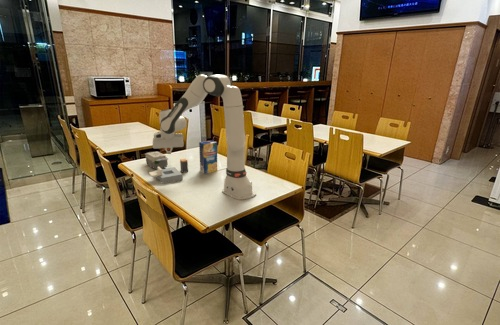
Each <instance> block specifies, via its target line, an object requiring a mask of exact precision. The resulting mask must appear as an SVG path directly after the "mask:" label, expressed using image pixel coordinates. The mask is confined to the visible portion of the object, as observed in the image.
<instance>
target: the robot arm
mask: <svg viewBox="0 0 500 325" xmlns="http://www.w3.org/2000/svg"><path fill="white" fill-rule="evenodd" d="M186 89H187V90H186V91H185V93H184V94H183V95H182V96H181V97H180V98H179V99H178V101H177V102H176V103H175V104H174V106H173V107H172V108H171V109H162V110H160V111H159V116H158V117H159V118H158V119H159V125H160V126H159V127H160V129H159V130H160V131H157V132H154V133H153V138H152V148H153V149H154V150H155V149H164V150H165V152H166V155H172V151H173V149H174V148H183V147H184V146H185V144H184V138H185V137H184V133H180V132H179V131H183V130H184V129H185V128H186V127H187V124H188V123H187V119H186V117H184V116H183V114H184V113H185V112H186V111H189V110H190V109H192V108H194V107H197V106H199V105H200V104H202V102H203V101H204V100H205V98H206V97H207V96H208V94H209V95H211V96H215V97H221V99H222V101H223V114H224V122H225V123H224V124H225V126H224V127H225V141H226V145H227V149H226V169H225V174H226V175H225V178H224V183H223V189H222V191H221V192H222V193H223V194H225V195H227V196H229V197H231V198H233V199H235V200H239V201H240V200H247V199H251V198H253V197H255V196H257V192H256V191H254V190H253V182H252V181H250V180H249V179H250V178H248V176H247V173H248V172H247V170H246V166H245V162H246V131H245V117H244V116H245V114H244V106H243V105H244V104H243V98H242V93H241V89H240V88H239V87H238V86H235V85H233V80H232V79H231V77H230V76H228V75H226V74H210V75H208V76H207V75H205V74H202V73H201V74H198V75H197V76H196V77H195V78H194V79H193V81H192V82H191V83H190V85H189V86H188V88H186ZM176 132H179V133H176ZM167 149H170V150H167Z"/></svg>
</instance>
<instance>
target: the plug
mask: <svg viewBox="0 0 500 325" xmlns="http://www.w3.org/2000/svg"><path fill="white" fill-rule="evenodd" d="M179 163H180V164H179V165H180V173H187V172H189V168H188V167H189V165H188V159H186V158H181V159H179Z"/></svg>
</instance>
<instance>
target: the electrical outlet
mask: <svg viewBox="0 0 500 325" xmlns="http://www.w3.org/2000/svg"><path fill="white" fill-rule="evenodd" d="M144 155H145V161H146V165H147V166H149V167H150V168H151V169H154V170H158V169H157V167H160V168H161V169H166V168H168V165H169V164H168V160H169V158H168V157H167V154H164V153H162V152H159V151H149V152H146V153H144Z"/></svg>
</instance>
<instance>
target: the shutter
mask: <svg viewBox="0 0 500 325" xmlns="http://www.w3.org/2000/svg"><path fill="white" fill-rule="evenodd" d="M157 169H158V171H155V170H154V171H149V172H148V174H149V175H150V177H156V176H159V175H163V174H162V169H161V168H160V167H157ZM157 169H156V170H157Z"/></svg>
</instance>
